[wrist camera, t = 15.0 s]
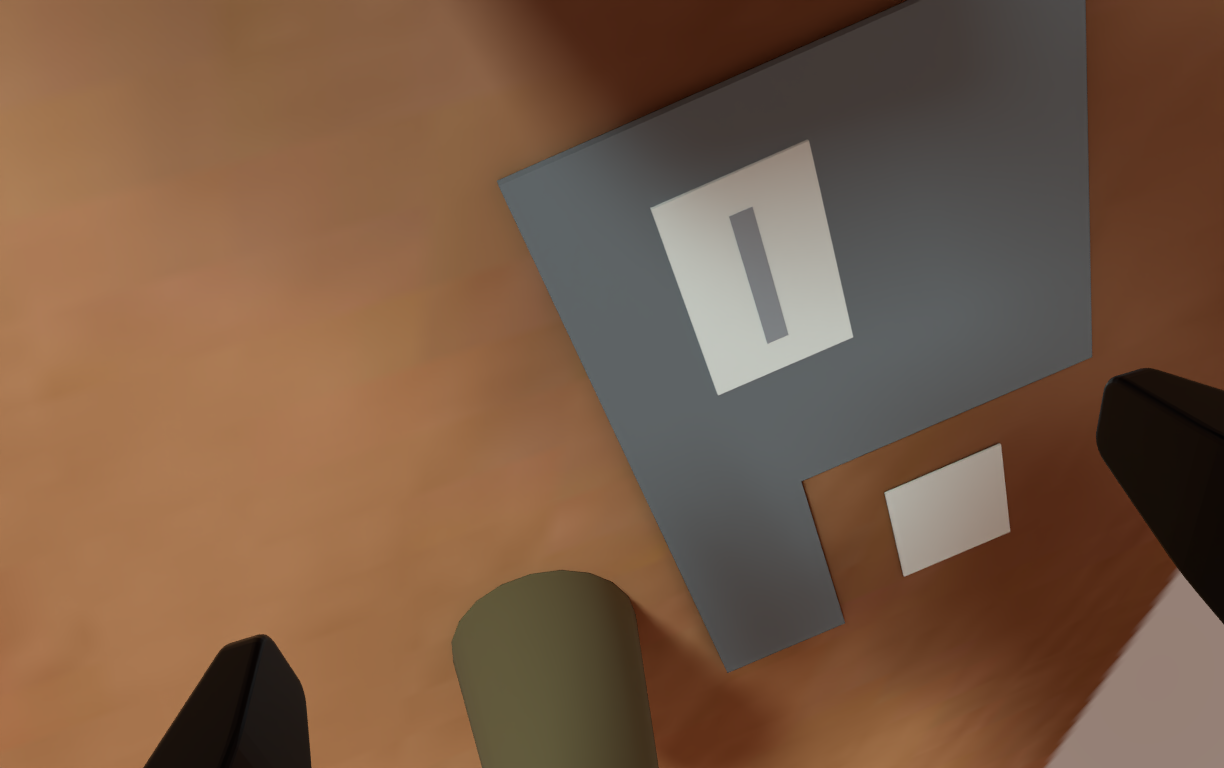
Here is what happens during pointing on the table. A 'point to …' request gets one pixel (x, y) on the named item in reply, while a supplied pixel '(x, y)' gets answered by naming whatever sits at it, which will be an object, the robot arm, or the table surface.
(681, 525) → the label panel
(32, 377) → the table surface
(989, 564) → the table surface
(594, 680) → the olive green pawn
